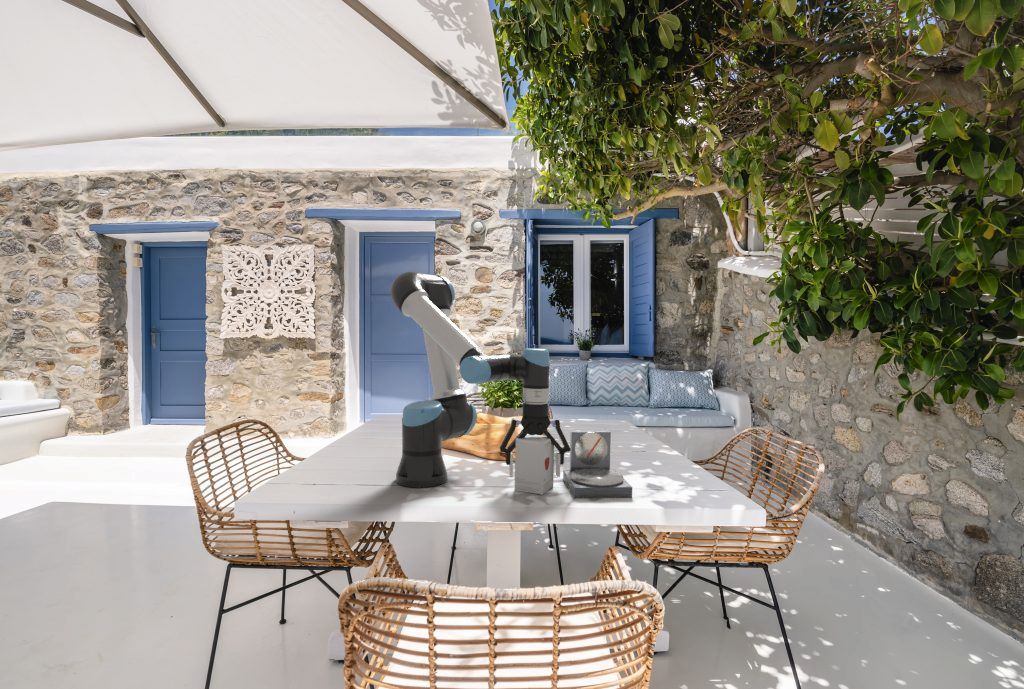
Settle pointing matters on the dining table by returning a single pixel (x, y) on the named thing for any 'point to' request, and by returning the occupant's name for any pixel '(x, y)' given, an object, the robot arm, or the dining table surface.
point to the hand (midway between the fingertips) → (534, 475)
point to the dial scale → (593, 468)
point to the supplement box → (534, 464)
